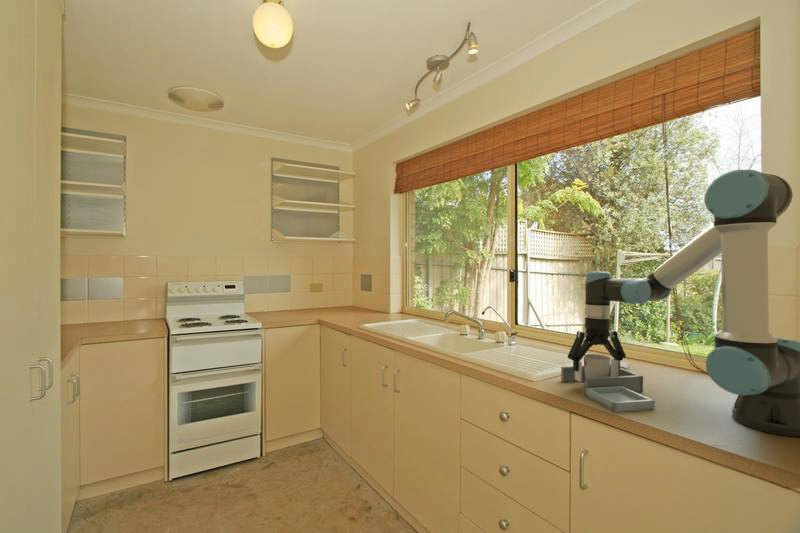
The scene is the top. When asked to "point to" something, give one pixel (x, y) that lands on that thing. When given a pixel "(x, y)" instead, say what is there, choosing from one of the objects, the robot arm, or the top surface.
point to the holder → (606, 379)
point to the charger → (624, 365)
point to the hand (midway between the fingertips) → (596, 379)
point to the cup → (596, 365)
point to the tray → (619, 399)
